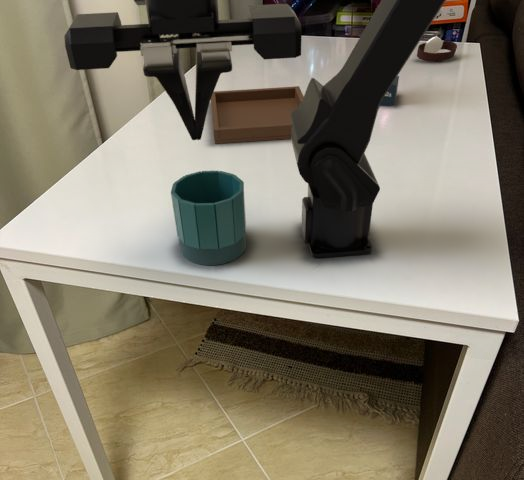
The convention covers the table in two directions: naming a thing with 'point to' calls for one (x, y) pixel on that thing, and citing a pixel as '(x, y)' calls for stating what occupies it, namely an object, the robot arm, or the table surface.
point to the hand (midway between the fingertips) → (196, 138)
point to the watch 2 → (436, 50)
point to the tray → (254, 114)
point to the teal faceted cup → (210, 216)
